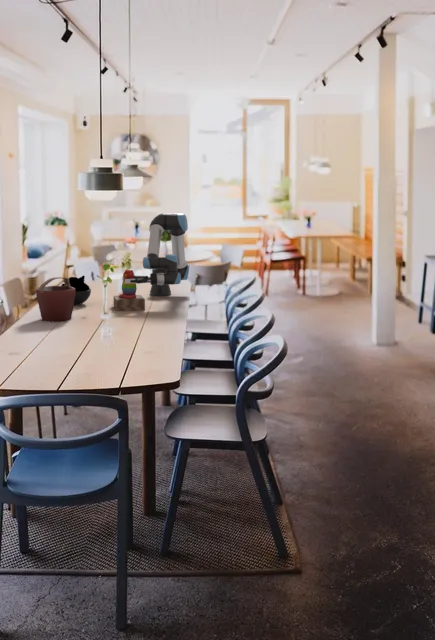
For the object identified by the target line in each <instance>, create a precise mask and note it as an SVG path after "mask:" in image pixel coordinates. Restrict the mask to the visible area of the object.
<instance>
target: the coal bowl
mask: <svg viewBox="0 0 435 640" xmlns="http://www.w3.org/2000/svg"><path fill="white" fill-rule="evenodd" d="M85 278H86V277H85V275H82V276H80V277H75V276H70V277H69V278H68V279H69V281H68V282H69V283H70V287H73V288H75V291H76V294H75V300H74V305H73V306H75V305H76V306H79V305H81V304H84V303H85V302H87V301H88V299H89V298H90V297H91V293H92V288H91V287H90V286H89V285H88V284H87V283H86V282H85ZM60 286H64V283H62V284H61V285H60Z"/></svg>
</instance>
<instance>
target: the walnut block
mask: <svg viewBox="0 0 435 640" xmlns="http://www.w3.org/2000/svg"><path fill="white" fill-rule="evenodd" d="M113 308H114V309H115V311H116V312H124V311H125V312H126V311H128V312H129V311H132V312H133V311H146V299H145V298H144V297H143V295H141V294H136V298H133V299H126V298H119V295H113Z"/></svg>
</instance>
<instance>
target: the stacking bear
mask: <svg viewBox="0 0 435 640" xmlns="http://www.w3.org/2000/svg"><path fill="white" fill-rule="evenodd" d="M134 273H135V272H134V271H133V270H132V269H125V270H124V272H123V274H122V278H123V277H124V278H125V279H133V277H134V275H135V274H134ZM125 279H124V280H123V279H122V285H121V290H122V293H121V294H119V295H118V296H119V298H126V299H133V298H136V295H137V294H136V292H137V283H136V282H135V283H125Z"/></svg>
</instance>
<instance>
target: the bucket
mask: <svg viewBox="0 0 435 640" xmlns="http://www.w3.org/2000/svg"><path fill="white" fill-rule="evenodd" d="M57 279H62V280H63V284H64V286H61V285H49V284H50V283H51V282H53V281H54V280H57ZM68 281H69V278H67V277H61V276H60V277H59V276H57V277H56V276H55V277H51V278H48V279H47V280H45V281H44V282H43V283H42V284H41V285H40V286H39V287H37V288H36V289H35V295H36V299H37V303H38V308H39V312H40V317H41V321H42V322H48V323H58V322H59V323H61V322H67V321H70V320H72V318H73V317H72V316H73V310H74V306H75V305H74V300H75V294H76V291H75V288H73V287H70V283H69V282H68ZM47 285H48V286H47Z"/></svg>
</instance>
